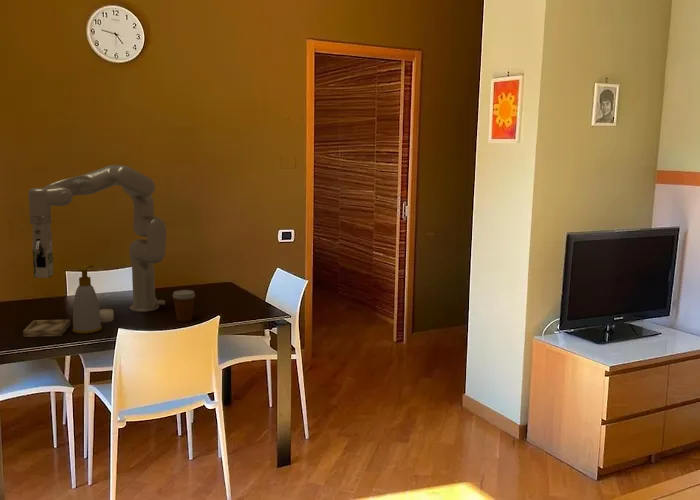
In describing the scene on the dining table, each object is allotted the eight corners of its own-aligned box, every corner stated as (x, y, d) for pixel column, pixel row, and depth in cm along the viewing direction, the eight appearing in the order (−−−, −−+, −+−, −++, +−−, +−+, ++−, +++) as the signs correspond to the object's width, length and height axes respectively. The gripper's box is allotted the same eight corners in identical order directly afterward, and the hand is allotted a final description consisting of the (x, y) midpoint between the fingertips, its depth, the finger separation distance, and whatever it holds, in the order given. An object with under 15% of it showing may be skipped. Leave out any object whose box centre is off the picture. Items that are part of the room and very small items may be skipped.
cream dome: (115, 317, 292) (114, 308, 291) (112, 322, 285) (111, 313, 285) (97, 318, 291) (97, 309, 290) (94, 322, 284) (94, 313, 283)
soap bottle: (107, 327, 278) (105, 264, 274) (92, 335, 267) (89, 270, 262) (82, 325, 280) (79, 262, 275) (66, 333, 269) (62, 268, 264)
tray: (70, 325, 279) (69, 319, 279) (61, 335, 266) (61, 329, 265) (33, 326, 277) (33, 320, 277) (23, 336, 263) (23, 330, 263)
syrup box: (39, 274, 270) (36, 238, 267) (54, 274, 270) (52, 238, 268) (33, 278, 264) (31, 241, 262) (49, 278, 265) (47, 241, 262)
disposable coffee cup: (184, 323, 285) (183, 296, 283) (168, 320, 290) (167, 292, 288) (200, 318, 293) (200, 291, 291) (184, 315, 298) (184, 288, 296)
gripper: (44, 223, 256) (47, 270, 259) (56, 216, 272) (59, 260, 276) (23, 223, 254) (26, 270, 258) (36, 216, 271) (39, 261, 274)
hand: (43, 265), depth 267 cm, fingers closed on syrup box, 5 cm apart
